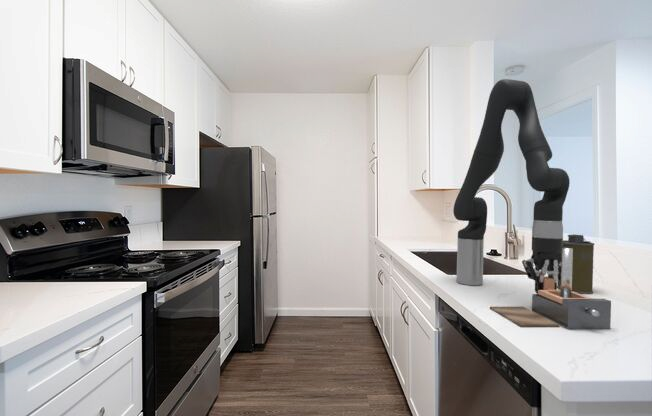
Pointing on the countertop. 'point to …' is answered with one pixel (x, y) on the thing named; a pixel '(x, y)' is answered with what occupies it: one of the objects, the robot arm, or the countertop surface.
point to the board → (524, 317)
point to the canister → (580, 264)
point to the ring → (556, 291)
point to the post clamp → (573, 304)
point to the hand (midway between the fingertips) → (545, 294)
